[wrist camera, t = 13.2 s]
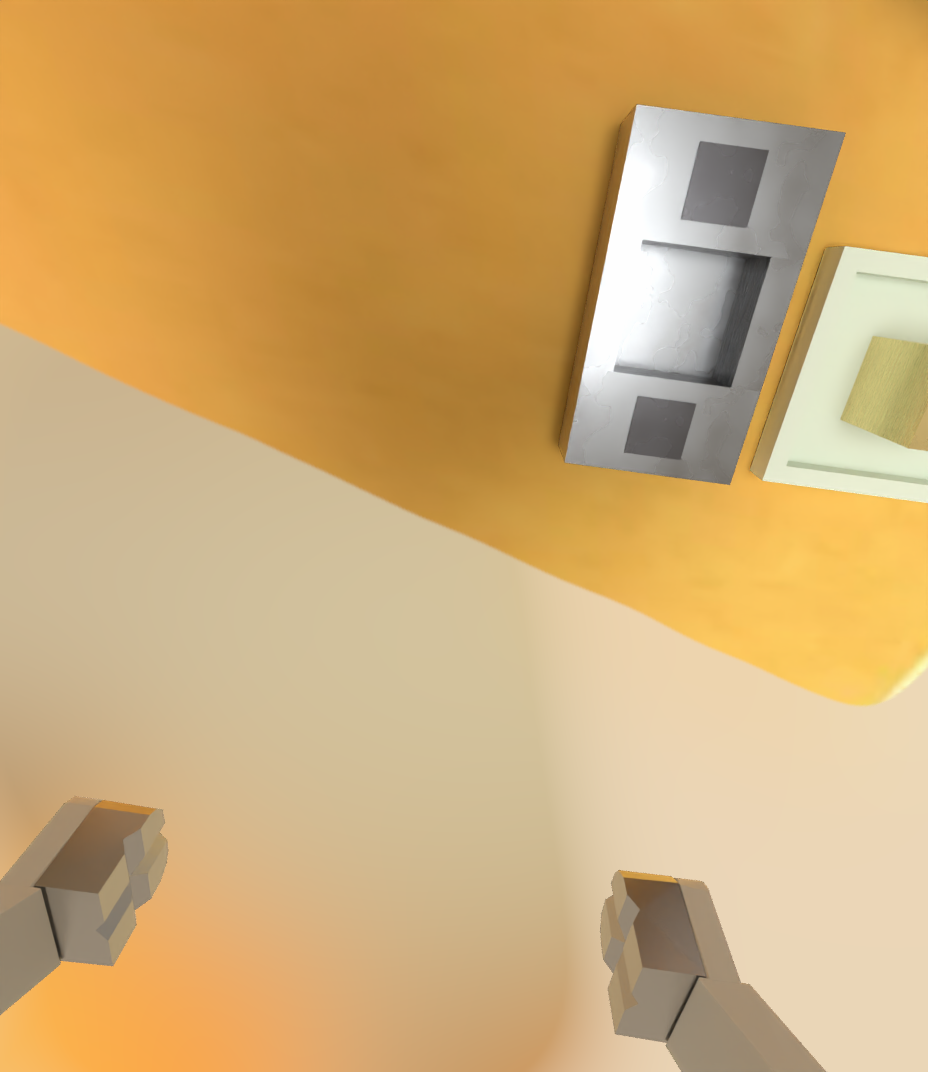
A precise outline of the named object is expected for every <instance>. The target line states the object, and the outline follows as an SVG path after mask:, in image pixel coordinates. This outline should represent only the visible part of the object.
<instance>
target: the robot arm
mask: <svg viewBox="0 0 928 1072" xmlns="http://www.w3.org/2000/svg"><path fill="white" fill-rule="evenodd" d="M164 824H165V820H164V814H163V810H162V809H156V808H149V807H143V806H136V805H131V804H124V803H118V802H112V801H106V800H100V799H92V798H86V797H79V796H75V797H73V798H72V799H70V800H69V801H67V802H66V803H64V804H63V806H62V807H61V808H60V809H59V810H58V812H57V813H56V814H55V816H53V818H52V819H51V820H50V821H49V823H48V824H47V825H46V826H45V827H44V829H43V830H42V831H41V832H40V833H39V835H38V836H37V837H36V838H35V839H34V841H33V842H32V843H31V844H30V845H29V847H28V848H27V849H26V851H25V852H24V853H23V854H22V855H21V856H20V857H19V859H18V860H17V861H16V862H15V864H14V865H13V866H12V867H11V868H10V870H9V871H8V872H7V873H6V874H5V876H4V877H3V878H2V879H1V880H0V1015H1V1014H2V1013H3V1012H4V1011H5V1010H7V1009H8V1008H9V1007H10V1006H11V1005H13V1004H14V1003H15V1002H16V1001H18V1000H19V999H20V998H21V997H22V996H23V995H25V994H26V993H27V992H28V991H29V990H31V989H32V988H33V987H34V986H35V985H37V984H38V983H39V982H40V981H41V980H43V979H44V978H45V977H46V976H47V975H48V974H50V973H51V972H52V971H53V970H54V969H56V968H57V967H58V966H59V965H60V963H61V962H60V961H69V962H79V963H88V964H97V965H107V966H113V965H114V964H115V962H116V960H117V958H118V957H119V955H120V953H121V951H122V949H123V948H124V946H125V944H126V942H127V940H128V939H129V937H130V935H131V933H132V932H133V930H134V928H135V926H136V916H135V910H136V909H137V908H139V907H140V906H141V905H143V904H144V903H146V902H147V901H148V900H150V899H151V898H152V896H153V894H154V892H155V890H156V888H157V887H158V885H159V883H160V881H161V877H162V875H163V872H164V869H165V866H166V863H167V855H168V843H167V840H166V838H165V837H164V836H162V834H161V833H160V830H161V828H162V827H163V825H164ZM611 885H612V891H613V895H612V896H611V897H609V898H608V899H606V900H605V903H604V906H603V910H602V914H601V927H600V933H601V946H602V954H603V960H604V961H605V963H606V964H607V965H608V967H609V968H610V969H611V971H612V972H613V976H612V978H611V981H610V984H609V986H608V992H609V1000H610V1006H611V1012H612V1018H613V1024H614V1030H615V1034H617V1035H623V1036H629V1037H635V1038H641V1039H648V1040H654V1041H660V1042H666V1043H667V1044H666V1047H667V1049H668V1050H669V1052H670V1053H671V1055H672V1057H673V1059H674V1060H675V1062H676V1063H677V1065H678V1067H679V1068H680V1070H681V1072H826V1071H825V1070H824V1069H823V1068H822V1066H821V1065H820V1064H819V1063H818V1062H817V1061H816V1059H815V1058H814V1057H813V1056H812V1055H811V1054H810V1053H809V1051H808V1050H807V1049H806V1048H805V1047H804V1046H803V1045H802V1043H801V1042H800V1041H799V1040H798V1039H797V1038H796V1037H795V1035H794V1034H793V1033H792V1032H791V1031H790V1030H789V1029H788V1027H787V1026H786V1025H785V1024H784V1023H783V1022H782V1021H781V1020H780V1018H779V1017H778V1016H777V1015H776V1014H775V1013H774V1012H773V1010H772V1009H771V1008H770V1007H769V1006H768V1005H767V1004H766V1002H765V1001H764V1000H763V999H762V998H761V997H760V995H759V994H758V993H757V992H756V991H755V990H754V989H753V987H752V986H751V985H750V984H745V983H741V982H740V979H739V976H738V973H737V970H736V967H735V964H734V961H733V959H732V956H731V953H730V950H729V947H728V944H727V941H726V938H725V936H724V933H723V930H722V927H721V924H720V921H719V919H718V916H717V913H716V910H715V907H714V904H713V901H712V899H711V896H710V893H709V890H708V888H707V886H706V885H705V884H704V882H702V881H697V880H688V879H680V878H673V877H671V876H663V875H655V874H647V873H638V872H630V871H621V870H618V871H617V872H616V873H615V874H614V877H613V880H612V882H611Z"/></svg>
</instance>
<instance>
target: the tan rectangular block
mask: <svg viewBox="0 0 928 1072" xmlns="http://www.w3.org/2000/svg"><path fill="white" fill-rule="evenodd" d="M840 420H842V421H845V422H847V423H849V424H852V425H854V426H856V427H859V428H861V429H864V430H866V431H868V432H871V433H873V434H875V435H878V436H880V437H882V438H885V439H887V440H889V441H892V442H894V443H897V444H899V445H901V446H904V447H906V448H908V449H916V450H923V451H928V343H922V342H914V341H907V340H900V339H892V338H885V337H877V336H873V337H872V339H871V342H870V344H869V347H868V350H867V352H866V355H865V357H864V360H863V362H862V365H861V367H860V370H859V373H858V375H857V378H856V380H855V383H854V385H853V388H852V390H851V393H850V395H849V398H848V401H847V403H846V406H845V408H844V411H843V413H842V416H841V418H840Z"/></svg>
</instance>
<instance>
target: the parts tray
mask: <svg viewBox="0 0 928 1072" xmlns="http://www.w3.org/2000/svg"><path fill="white" fill-rule="evenodd" d="M873 336H877V337H885V338H892V339H900V340H907V341H914V342H922V343H928V257H922V256H914V255H907V254H899V253H892V252H885V251H877V250H870V249H862V248H855V247H848V246H841V247H828V248H825V251H824V253H823V256H822V259H821V262H820V265H819V268H818V271H817V274H816V277H815V280H814V283H813V286H812V289H811V292H810V295H809V298H808V300H807V303H806V306H805V309H804V312H803V315H802V318H801V321H800V324H799V327H798V330H797V333H796V336H795V339H794V342H793V345H792V347H791V350H790V353H789V356H788V359H787V362H786V365H785V368H784V371H783V374H782V377H781V380H780V383H779V386H778V389H777V392H776V395H775V397H774V400H773V403H772V406H771V409H770V412H769V415H768V418H767V421H766V424H765V427H764V430H763V433H762V436H761V439H760V442H759V444H758V447H757V450H756V453H755V456H754V459H753V462H752V465H751V468H750V471H751V472H752V473H753V474H755V475H756V476H757V477H758V478H760V479H761V480H762V481H769V482H777V483H784V484H791V485H799V486H806V487H814V488H821V489H829V490H836V491H843V492H851V493H858V494H866V495H873V496H880V497H888V498H895V499H903V500H910V501H918V502H925V503H928V451H923V450H916V449H908V448H906V447H904V446H901V445H899V444H897V443H894V442H892V441H889V440H887V439H885V438H882V437H880V436H878V435H875V434H873V433H871V432H868V431H866V430H864V429H861V428H859V427H856V426H854V425H852V424H849V423H847V422H845V421H842V420H840V418H841V416H842V413H843V411H844V408H845V406H846V403H847V401H848V398H849V395H850V393H851V390H852V388H853V385H854V383H855V380H856V378H857V375H858V373H859V370H860V367H861V365H862V362H863V360H864V357H865V355H866V352H867V350H868V347H869V344H870V342H871V339H872V337H873Z"/></svg>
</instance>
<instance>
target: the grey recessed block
mask: <svg viewBox="0 0 928 1072" xmlns="http://www.w3.org/2000/svg"><path fill="white" fill-rule="evenodd" d="M845 134H846V133H844V132H837V131H829V130H822V129H815V128H807V127H800V126H793V125H785V124H778V123H771V122H763V121H756V120H748V119H741V118H734V117H726V116H719V115H712V114H704V113H697V112H690V111H682V110H675V109H668V108H660V107H653V106H645V105H638V104H637V105H636V106H635V107H634V108H633V110H632V111H631V112H630V113H629V115H628V116H627V117H626V118H625V120H624V121H623V122H622V123H621V125H620V130H619V136H618V141H617V146H616V151H615V156H614V161H613V166H612V172H611V177H610V182H609V187H608V192H607V197H606V202H605V207H604V213H603V218H602V223H601V228H600V233H599V238H598V243H597V249H596V254H595V259H594V264H593V269H592V274H591V279H590V284H589V290H588V295H587V300H586V305H585V310H584V315H583V320H582V326H581V331H580V336H579V341H578V346H577V351H576V356H575V362H574V367H573V372H572V377H571V382H570V387H569V392H568V397H567V403H566V408H565V413H564V418H563V423H562V428H561V433H560V439H559V444H558V445H559V448H560V451H561V454H562V457H563V460H564V462H565V463H571V464H579V465H586V466H594V467H601V468H609V469H616V470H623V471H631V472H638V473H646V474H653V475H661V476H668V477H675V478H683V479H690V480H698V481H705V482H713V483H720V484H727V485H730V483H731V480H732V477H733V474H734V471H735V468H736V465H737V462H738V459H739V456H740V453H741V450H742V446H743V443H744V440H745V437H746V434H747V431H748V428H749V425H750V422H751V419H752V416H753V413H754V410H755V407H756V404H757V401H758V398H759V395H760V392H761V389H762V386H763V383H764V380H765V377H766V374H767V371H768V367H769V364H770V361H771V358H772V355H773V352H774V349H775V346H776V343H777V340H778V337H779V334H780V331H781V328H782V325H783V322H784V319H785V316H786V313H787V310H788V307H789V304H790V301H791V298H792V295H793V292H794V288H795V285H796V282H797V279H798V276H799V273H800V270H801V267H802V264H803V261H804V258H805V255H806V252H807V249H808V246H809V243H810V240H811V237H812V234H813V231H814V228H815V225H816V222H817V219H818V216H819V213H820V209H821V206H822V203H823V200H824V197H825V194H826V191H827V188H828V185H829V182H830V179H831V176H832V173H833V170H834V167H835V164H836V161H837V158H838V155H839V152H840V149H841V146H842V143H843V140H844V137H845Z"/></svg>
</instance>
